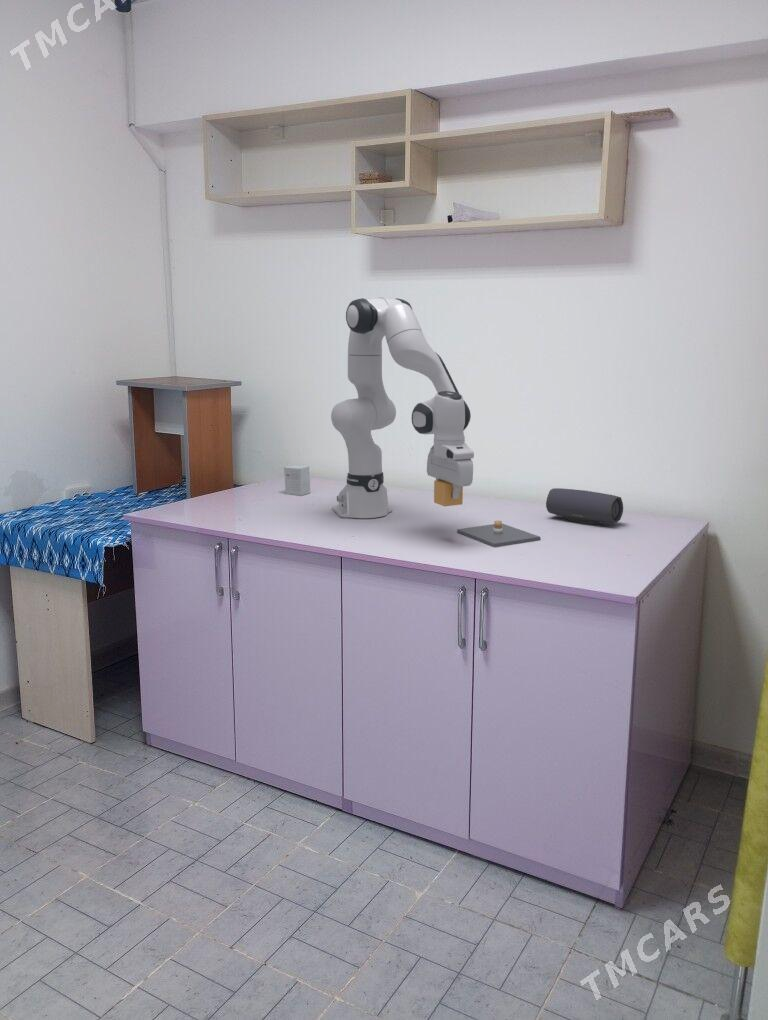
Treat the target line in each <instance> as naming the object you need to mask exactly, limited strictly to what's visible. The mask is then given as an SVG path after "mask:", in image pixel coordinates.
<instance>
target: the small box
mask: <svg viewBox="0 0 768 1020" xmlns="http://www.w3.org/2000/svg"><path fill="white" fill-rule="evenodd" d="M283 470H284V471H283V472H284V488H285V489H284V490H285V491H284V492H285V494H286V495H291V496H292V495H293V496H305V495H309V494H311V476H310V466H307V465H306V466H305V465H297V464H296V465H295V464H292V465H287V466H285V467H284V468H283Z"/></svg>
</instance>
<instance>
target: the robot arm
mask: <svg viewBox="0 0 768 1020" xmlns="http://www.w3.org/2000/svg"><path fill="white" fill-rule="evenodd" d="M345 321H346V324H347V326H348V328H349V329H350V331H349V337H348V342H347V344H348V345H347V346H348V347H347V378H348V381H349V382H350V383H351V384H352V385H353V386H354V387H355V389H356V392H357V398H351V399H350V398H349V399H348V398H347V399H345V400H343V401H340V402H338V403H336V404H335V405H334V406H333V407H332V410H331V414H330V419H331V423H332V426H333V427H334V429H335V430H336V431H337V432H339V434H340V435H341V436H342V438H343V440H344V442H345V445H346V450H347V456H348V457H347V458H348V460H347V461H348V473H346V484H345V486H344V487H343V488H342V489H340V492H339V493H338V494H337V495H336V503H338V504H335V505H332V510H333V512H334V513H335V514H337V515H338V516H339V517H340V518H352V519H353V518H354V519H377V518H381V517H385V516H387V515H388V514H389V513H391V512H392V511H393V509H392V507H389V498H388V490H387V487H386V486H385V485H384V481H385V479H384V477H385V476H384V472H383V464H382V463H383V455H382V454H383V451H382V448H381V447H380V446H379V445H378V444H376V443H375V441H374V439H373V435H372V431H374V430H375V431H377V430H382V429H384V428H386V427H388V426H389V425H392V424H393V423H394V421H395V419H396V418H397V417H396V416H397V409H396V405H395V403H394V402H393V401H392V400H391V399H390V397H388V395H387V391H386V389H385V386H384V380H383V339H384V337H385V340H386V345H387V346H388V350H389V353H390V355H391V357H392V359H393V361H394V362H395V363H396V364H397V365H399V366H401V367H402V368H404V369H407V370H409V371H410V370H411V371H414V372H417V373H419V374H421V375H424V376H425V377H427V378H428V379H429V381H430V382H431V383H432V384H433V386H434V388H435V391H436V392H437V393H436V394H435V396H434V397H432V398H430V399H428V400H425V401H421V402H418V403H417V404H416V405H414V407H413V410H412V412H411V424H412V426H413V429H414V430H415V431H416V432H417V433H418V434H421V435H433V445H432V446H431V447H430V450H429V452H428V454H427V460H426V462H427V463H426V474H427V476H429V477H431V478H435V480H443V481H446V482H449V483H452V484H453V487H454V489H453V492H451V498H453V499H458V498H459V492H460V490H461V488H462V486H463V487H470V486H472V483H473V480H474V479H473V478H474V462H473V459H474V456H475V453H474V450H473V449H471V448H470V446H468V444H467V443H466V442H465V441H466V440H465V439H466V438H465V433H464V431H465V430H466V429H467V428H468V426H469V425H470V422H471V415H472V414H471V411H470V407H469V405H468V404H467V402H466V401H465V400H464V397H463V395H461V393H459V390H458V388H457V386H456V384H455V382H454V380H453V378H452V376H451V374H450V372H449V370H448V368H447V367H446V364H445V361H444V360H443V359H442V357H441V356H440V355H439V354H438V353H437V352H436V351H434V349H433V348H432V347H431V346H430V344H429V343H428V341H427V339H426V338H425V335H424V333H423V330H422V327H421V324H420V322H419V320H418V318H417V316H416V314H415V312H414V311H413V307H412V305H411V303H410V302H408V301H407V300H404V299H401V298H391V297H373V298H357V299H354V300H352V301H350V303H349V304H348V306H347V308H346V312H345Z"/></svg>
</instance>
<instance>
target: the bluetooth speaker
mask: <svg viewBox="0 0 768 1020" xmlns="http://www.w3.org/2000/svg"><path fill="white" fill-rule="evenodd" d="M545 506H546V507H545V508H546V511H547V512H548V513H549V514H552V515H556V516H560V517H564V518H567V521H571V522H576V523H583V524H589V525H599V524H600V523H605V524H606V523H607V524H616V523H618V522H619V521H620V520H621V519H622V518H623V514H624V503H623V499H622V497H621V496H617V495H613V494H608V493H603V492H597V491H590V490H584V489H583V490H581V489H573V488H559V487H558V488H554V487H553V488H551V489H550V490H549V491H548V494H547V498H546V501H545Z"/></svg>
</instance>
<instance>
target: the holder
mask: <svg viewBox="0 0 768 1020" xmlns="http://www.w3.org/2000/svg"><path fill="white" fill-rule="evenodd" d="M456 531H457V533H458V534H460V535H461V536H466V537H468V538H470V539H473V540H476V541H478V542H480V543H483V544H486V545H487V546H490V547H493V548H498V547H504V546H510V545H517V544H523V543H529V542H530V543H531V542H536V541H541V536H540V535H538V534H534V533H531V532H528V531H525V530H522V529H519V528H516V527H514V526H510V525H507V524H505V523H503V521H501V520H494V523H493V524H492V523H491V524H484V525H479V526H473V527H472V526H471V527H465V528H458V529H456Z"/></svg>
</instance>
